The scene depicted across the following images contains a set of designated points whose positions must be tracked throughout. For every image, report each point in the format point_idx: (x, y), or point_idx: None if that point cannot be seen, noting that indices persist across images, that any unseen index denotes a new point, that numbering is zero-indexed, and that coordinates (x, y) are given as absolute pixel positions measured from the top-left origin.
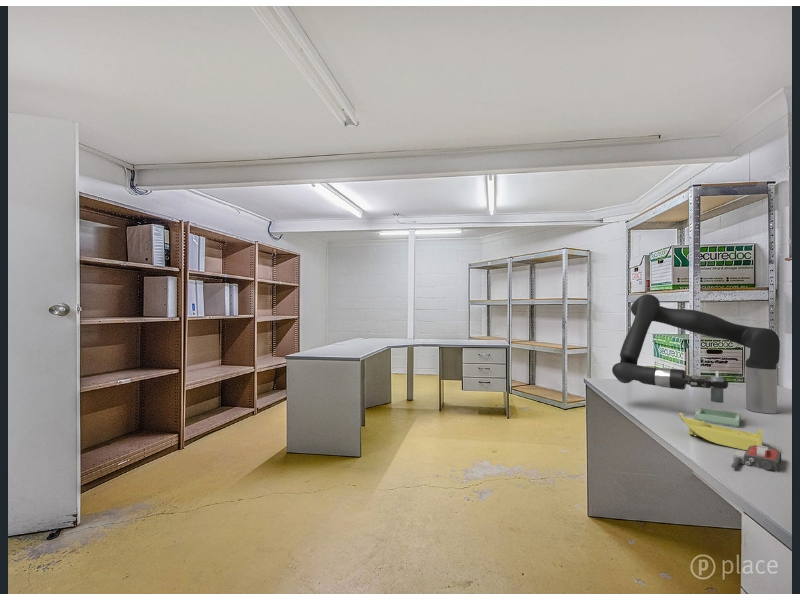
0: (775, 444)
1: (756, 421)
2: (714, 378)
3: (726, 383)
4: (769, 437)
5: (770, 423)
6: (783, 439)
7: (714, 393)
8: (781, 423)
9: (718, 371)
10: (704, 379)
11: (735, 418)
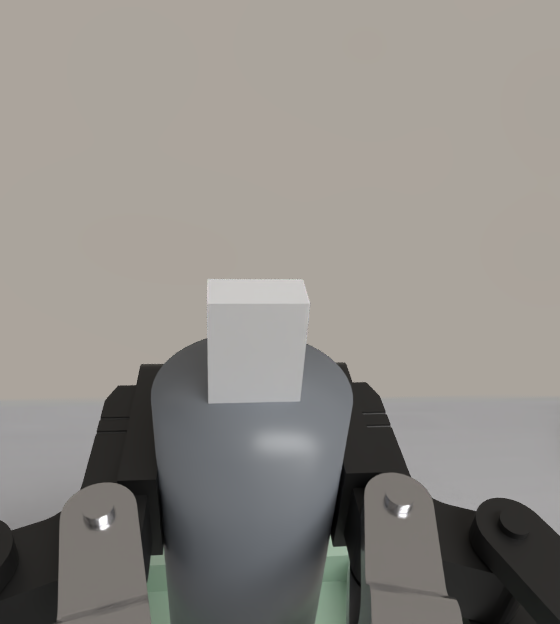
0: (546, 419)
1: (45, 504)
2: (348, 428)
3: (341, 365)
4: (438, 438)
5: (60, 447)
6: (412, 402)
7: (318, 600)
8: (21, 412)
9: (245, 280)
10: (451, 598)
11: (333, 554)
